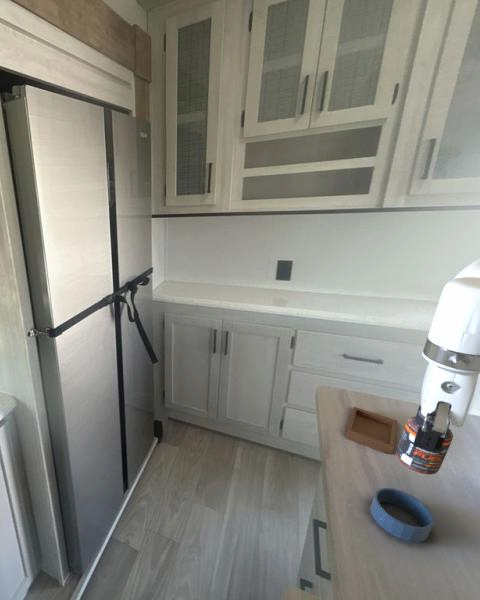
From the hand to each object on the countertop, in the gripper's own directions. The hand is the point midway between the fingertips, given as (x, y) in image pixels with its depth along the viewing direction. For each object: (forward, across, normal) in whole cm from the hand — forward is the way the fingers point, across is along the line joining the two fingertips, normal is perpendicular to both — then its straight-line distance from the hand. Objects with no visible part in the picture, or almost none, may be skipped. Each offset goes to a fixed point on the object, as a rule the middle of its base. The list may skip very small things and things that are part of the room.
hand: (426, 436), depth 60 cm
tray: (+21, +24, +6) cm, 32 cm away
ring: (+21, -2, 0) cm, 21 cm away
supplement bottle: (+7, 0, 0) cm, 7 cm away
